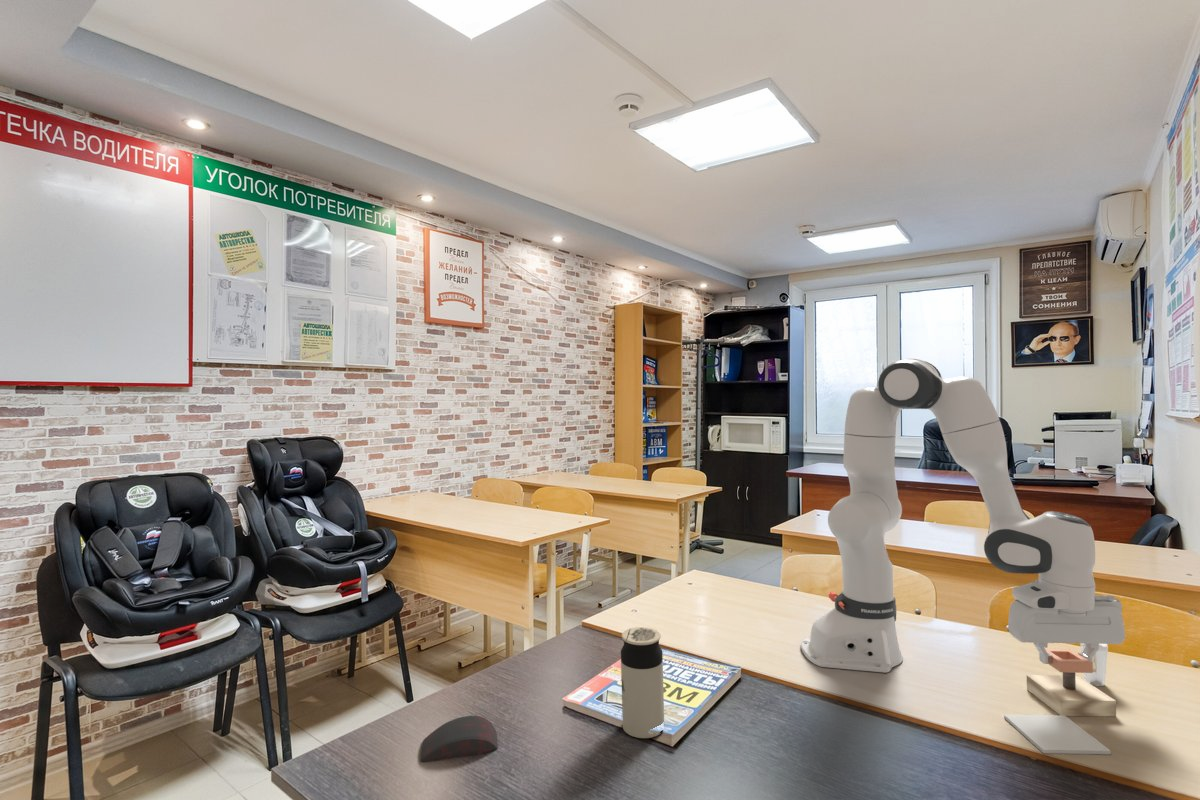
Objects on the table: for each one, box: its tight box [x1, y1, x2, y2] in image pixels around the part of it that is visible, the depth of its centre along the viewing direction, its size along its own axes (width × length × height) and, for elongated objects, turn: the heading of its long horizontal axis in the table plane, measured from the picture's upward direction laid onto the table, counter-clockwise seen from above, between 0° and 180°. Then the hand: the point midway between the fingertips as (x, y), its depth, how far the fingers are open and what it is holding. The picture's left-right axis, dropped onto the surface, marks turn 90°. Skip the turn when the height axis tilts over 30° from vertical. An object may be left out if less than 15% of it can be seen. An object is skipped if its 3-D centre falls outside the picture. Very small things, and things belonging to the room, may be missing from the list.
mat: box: [1003, 714, 1112, 755], centre depth 106 cm, size 11×11×1 cm
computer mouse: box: [419, 715, 499, 763], centre depth 108 cm, size 8×14×4 cm, turn 102°
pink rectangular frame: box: [1045, 648, 1093, 674], centre depth 117 cm, size 6×6×2 cm
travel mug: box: [620, 626, 665, 739], centre depth 112 cm, size 8×8×18 cm
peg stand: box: [1026, 672, 1117, 717], centre depth 117 cm, size 10×10×8 cm
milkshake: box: [1079, 643, 1109, 687], centre depth 124 cm, size 4×5×10 cm
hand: (1065, 663), depth 117 cm, fingers closed on pink rectangular frame, 6 cm apart
